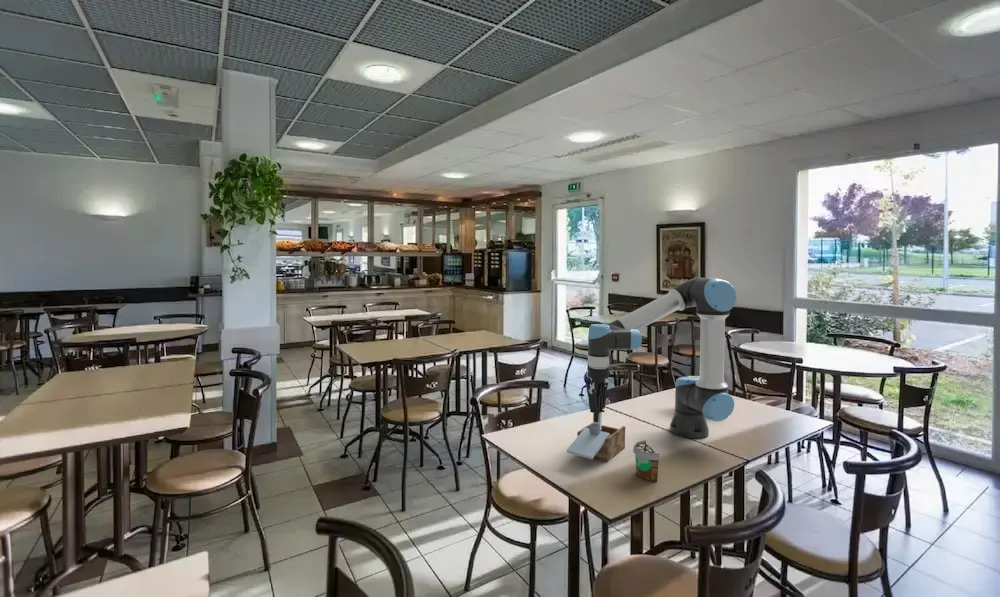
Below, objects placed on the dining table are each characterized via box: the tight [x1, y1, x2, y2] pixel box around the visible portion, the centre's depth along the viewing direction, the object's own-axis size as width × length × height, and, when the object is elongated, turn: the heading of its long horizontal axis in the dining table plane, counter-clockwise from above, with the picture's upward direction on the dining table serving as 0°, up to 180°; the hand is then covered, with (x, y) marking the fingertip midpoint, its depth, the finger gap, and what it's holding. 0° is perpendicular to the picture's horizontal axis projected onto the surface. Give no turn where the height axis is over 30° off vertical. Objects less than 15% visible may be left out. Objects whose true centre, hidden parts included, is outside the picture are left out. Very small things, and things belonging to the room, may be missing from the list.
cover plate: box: [566, 423, 610, 460], centre depth 175 cm, size 15×10×4 cm, turn 143°
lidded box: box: [576, 422, 626, 463], centre depth 184 cm, size 16×12×8 cm
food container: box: [632, 439, 661, 483], centre depth 164 cm, size 12×6×10 cm, turn 5°
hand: (597, 429), depth 181 cm, fingers closed
